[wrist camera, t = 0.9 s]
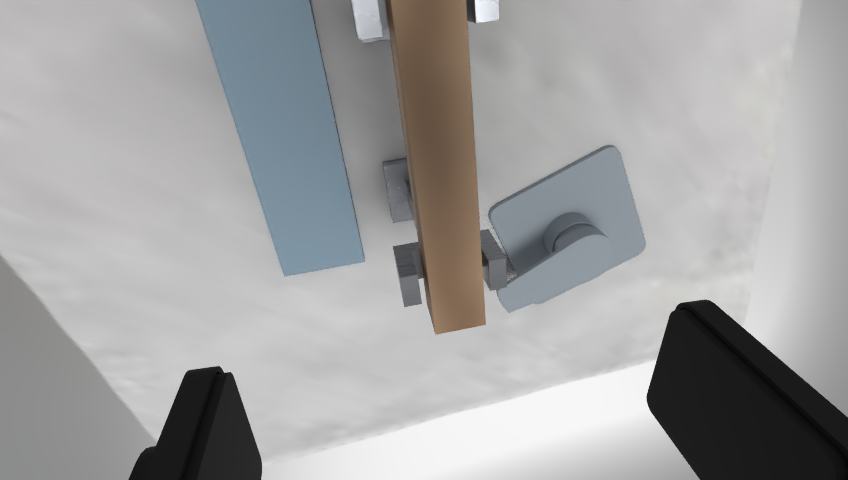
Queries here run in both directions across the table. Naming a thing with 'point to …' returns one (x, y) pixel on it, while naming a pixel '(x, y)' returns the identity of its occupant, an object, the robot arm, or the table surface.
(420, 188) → the rail
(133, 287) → the table surface
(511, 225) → the shower valve
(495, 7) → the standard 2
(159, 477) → the robot arm
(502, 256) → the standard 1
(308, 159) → the mat
